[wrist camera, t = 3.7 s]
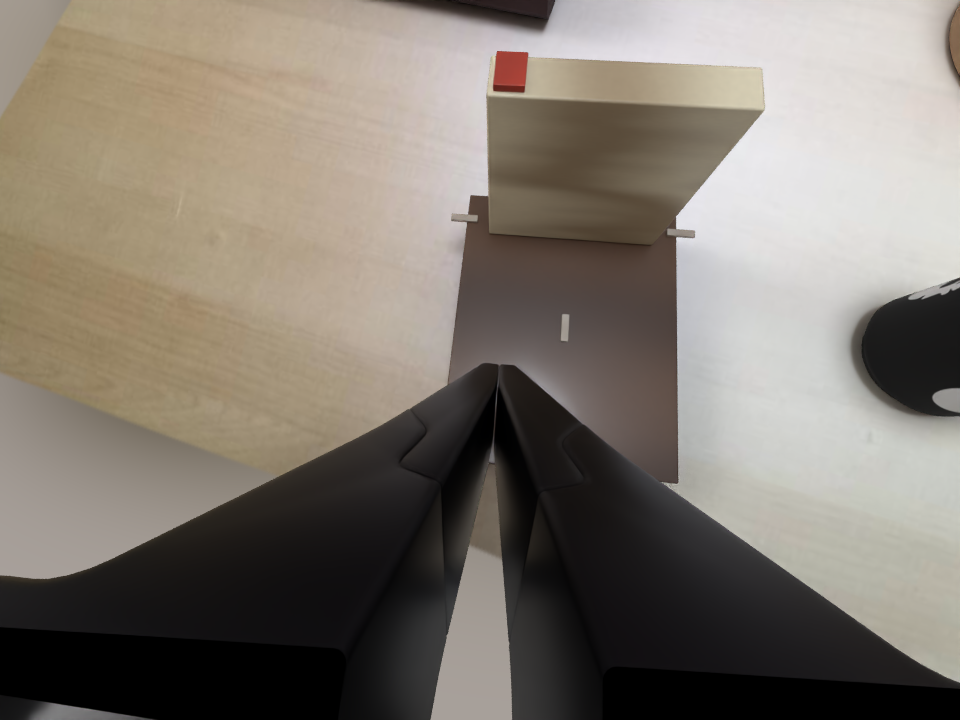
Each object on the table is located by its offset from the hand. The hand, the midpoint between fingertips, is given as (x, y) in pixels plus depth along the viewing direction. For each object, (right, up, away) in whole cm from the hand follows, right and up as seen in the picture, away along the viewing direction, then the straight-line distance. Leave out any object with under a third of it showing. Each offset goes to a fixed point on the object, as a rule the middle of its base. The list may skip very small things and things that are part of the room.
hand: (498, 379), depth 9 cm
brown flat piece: (+4, +4, +12) cm, 14 cm away
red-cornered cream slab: (+4, +8, +10) cm, 13 cm away
